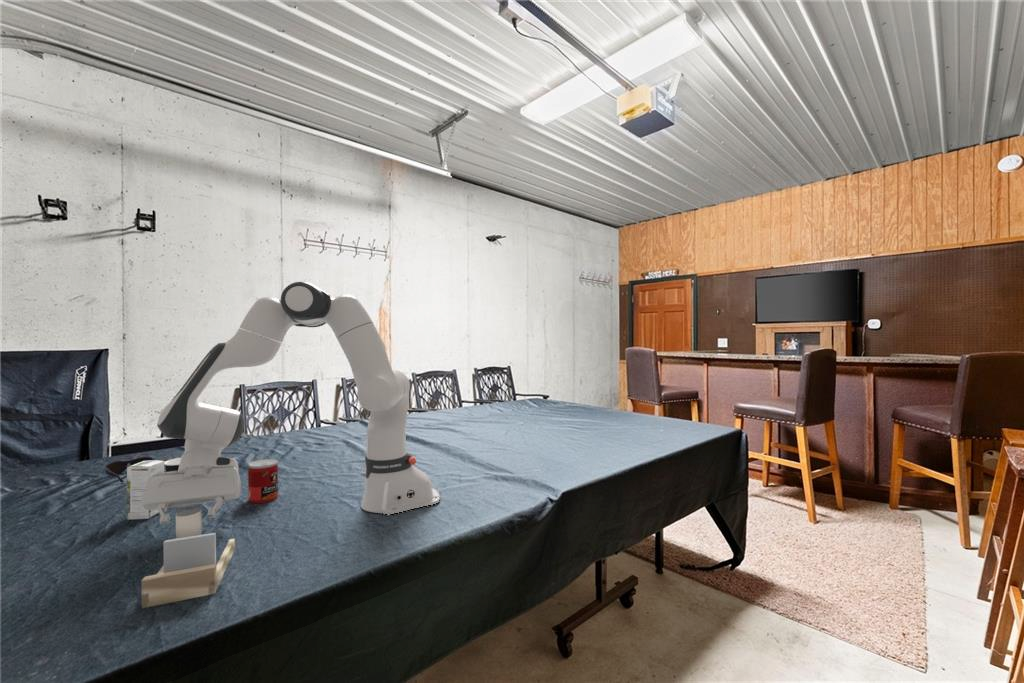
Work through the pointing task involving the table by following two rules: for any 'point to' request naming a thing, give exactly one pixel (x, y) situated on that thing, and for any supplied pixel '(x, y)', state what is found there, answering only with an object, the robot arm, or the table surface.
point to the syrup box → (140, 487)
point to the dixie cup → (172, 464)
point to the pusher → (189, 552)
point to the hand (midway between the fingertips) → (187, 520)
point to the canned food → (262, 480)
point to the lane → (185, 581)
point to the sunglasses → (123, 466)
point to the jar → (188, 522)
